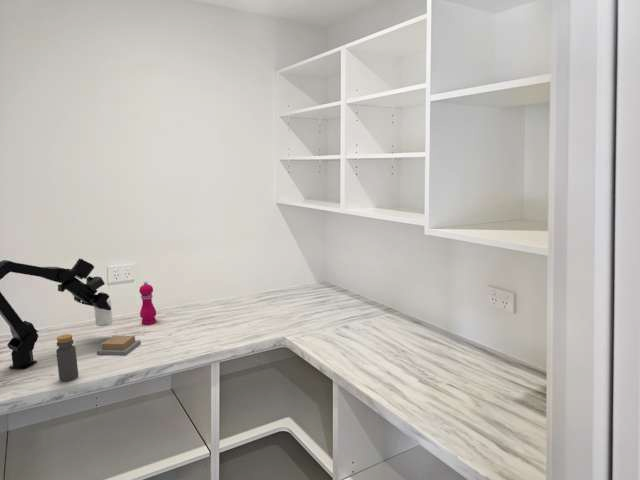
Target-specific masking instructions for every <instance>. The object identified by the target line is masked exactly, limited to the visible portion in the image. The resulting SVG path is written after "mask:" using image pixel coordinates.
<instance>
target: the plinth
mask: <svg viewBox="0 0 640 480" xmlns="http://www.w3.org/2000/svg"><path fill="white" fill-rule="evenodd" d="M140 345H141V340H140V339H139V340H138V339H136V336H135V335H119V334H118V335H112V336H111V337H109V338H107V339H106V340H104V341H103V342H101V347H100V348H99V349H97V350H95V351H96V353H95V354H96V355H98V356H127V355H128V354H129V353H131V352H132V351H134V350H135V349H136V348H137V347H139V346H140Z"/></svg>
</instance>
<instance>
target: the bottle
mask: <svg viewBox="0 0 640 480" xmlns="http://www.w3.org/2000/svg"><path fill="white" fill-rule="evenodd" d="M56 340H57V342H56V347H58V348H56V351H55V352H56V353H55V354H56V361H57V372H58V378H59V381H60V380H61V381H60V382H69V380H70V381H73V379H74V380H76V379H77V378H79V367H78V360H77V351H76V346H75V345H73V344H74V342H75V341H74V339H73V334H71V333H70V334H69V333H67V334H60V335H58V336H57V337H56ZM75 378H76V379H75Z"/></svg>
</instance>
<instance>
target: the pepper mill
mask: <svg viewBox="0 0 640 480" xmlns="http://www.w3.org/2000/svg"><path fill="white" fill-rule="evenodd" d="M138 290H139V294H140V299H141V301H142V303H141V308H140V311H139V317H140V318H141V324H142V325H143V326H148V325H154V324H156V322H157V319H156V316H157V310H156V308H155V306H154V304H153V292H154V287H153V286H152V285H151V284H149V283H148V281H146V280H145V281H143V284H142V285H141V286H140V287H139V289H138Z"/></svg>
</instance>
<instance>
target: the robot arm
mask: <svg viewBox="0 0 640 480" xmlns="http://www.w3.org/2000/svg"><path fill="white" fill-rule="evenodd" d="M94 269H95V266H94V264H92V263H90V262H88V261H86V260H84V259H83V258H79V259H77V260H76V263H75V264H74V265H73V267H72V268H64V267H59V266H38V265H32V264H28V263H27V264H26V263H19V262H15V261H11V260H7V259H3V260H1V261H0V280H2V279H3V278H5V276H7V275H8V274H9V273H15V274H22V275H26V276H34V277H38V278H42V279H46V280H47V281H52V282H55V283H59V284H57V291H58V292H60V293H64V292H65V290H66V291H68V292H69V293H70V294H71V295H72V297H73V300H74V301H75V302H76V303H79V304H82V305H85V306H90V307H95V308H99V309H105V310H111V309H112V306H111V307H110V306H109V304H108V303H107V299H108V298H109V297H110V295H109V294H108V293H106V292H102V291H101V292H98V289H99V288H101V287H103V286H104V285H105V284H106V283H105V281H104V279H103V278H102V277H101V276H94V277H93V276H90V274H91V273H92V272H93V270H94ZM83 279H84V280H86V281H85V283H84V282H83V281H82V280H83ZM0 316H1V317H2V318H3V320H4V321H5V322H6V324H7V325H8V326H9V328H10V329H9V330H10V334H11V336H12V338H10V341H9V342H8V343H7V344H6V345H7V347H8V348H9V350H12V351H11V353H10V354H11V361H12V364H11V365H10V366H9V369H10V370H11V369H12V370H13V369H15V370H18V369H19V370H24V369H25V370H26V369H28V368H29V367H31V366H33V365H35V364H36V363H37V362H38V360H34V353H33V351H34V348H35V345H36V344H35V343H36V342H37V341H38V338H39V333H38V332H39V330H37V329H36V328H35V326H34V324H33V322H29V321H28V320H22V319H21V317H20V315H18V313H17V312H16V311H15V309H14V308H13V306H12V305H11V304H10V303H9V301H8V300H7V299H6V297H5V296H4V295H3V293H2V292H1V291H0Z"/></svg>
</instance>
